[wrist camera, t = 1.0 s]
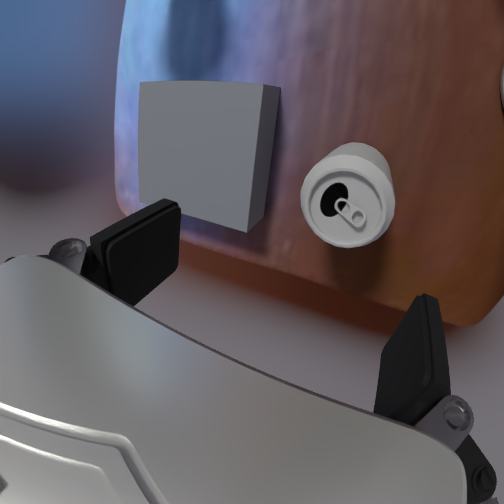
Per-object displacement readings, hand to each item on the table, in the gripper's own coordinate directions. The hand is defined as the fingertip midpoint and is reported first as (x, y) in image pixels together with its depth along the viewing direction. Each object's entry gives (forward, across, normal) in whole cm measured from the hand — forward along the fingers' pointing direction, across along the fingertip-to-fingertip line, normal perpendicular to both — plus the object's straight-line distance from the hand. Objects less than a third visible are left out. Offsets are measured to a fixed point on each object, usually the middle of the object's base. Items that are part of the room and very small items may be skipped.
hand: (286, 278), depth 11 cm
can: (+24, -1, +1) cm, 24 cm away
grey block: (+24, +17, +2) cm, 29 cm away
